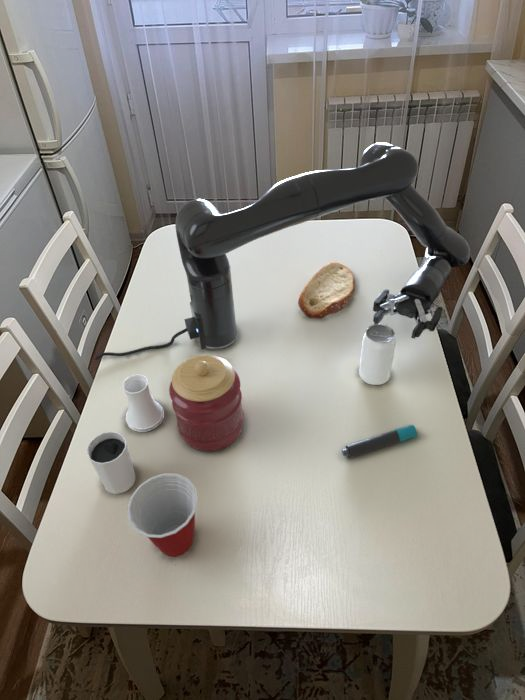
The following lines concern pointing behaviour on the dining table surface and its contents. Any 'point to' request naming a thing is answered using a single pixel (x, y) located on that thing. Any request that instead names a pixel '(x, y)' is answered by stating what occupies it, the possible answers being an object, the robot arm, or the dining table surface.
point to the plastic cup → (165, 512)
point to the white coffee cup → (112, 461)
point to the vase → (141, 405)
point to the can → (377, 354)
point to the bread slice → (327, 291)
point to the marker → (380, 441)
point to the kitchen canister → (207, 402)
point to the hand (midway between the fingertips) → (394, 328)
